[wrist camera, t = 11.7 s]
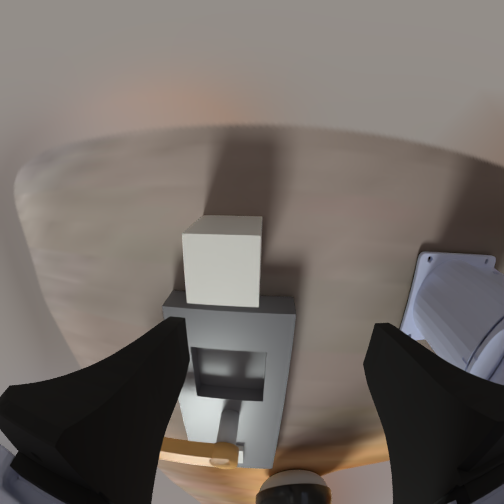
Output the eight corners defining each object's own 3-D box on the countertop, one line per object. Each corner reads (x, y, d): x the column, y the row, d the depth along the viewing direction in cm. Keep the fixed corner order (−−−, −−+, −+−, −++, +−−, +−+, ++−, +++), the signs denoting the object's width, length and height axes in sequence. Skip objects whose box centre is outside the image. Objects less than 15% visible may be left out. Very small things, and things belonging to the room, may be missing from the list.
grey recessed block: (293, 296, 20) (301, 346, 15) (272, 452, 27) (271, 492, 21) (172, 290, 21) (143, 334, 15) (198, 446, 28) (189, 485, 22)
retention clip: (133, 429, 18) (127, 442, 17) (237, 442, 18) (236, 458, 16) (141, 443, 19) (136, 455, 17) (240, 455, 18) (238, 469, 17)
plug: (262, 216, 19) (260, 235, 14) (260, 272, 20) (258, 307, 15) (203, 215, 19) (182, 233, 14) (205, 269, 20) (186, 303, 15)
